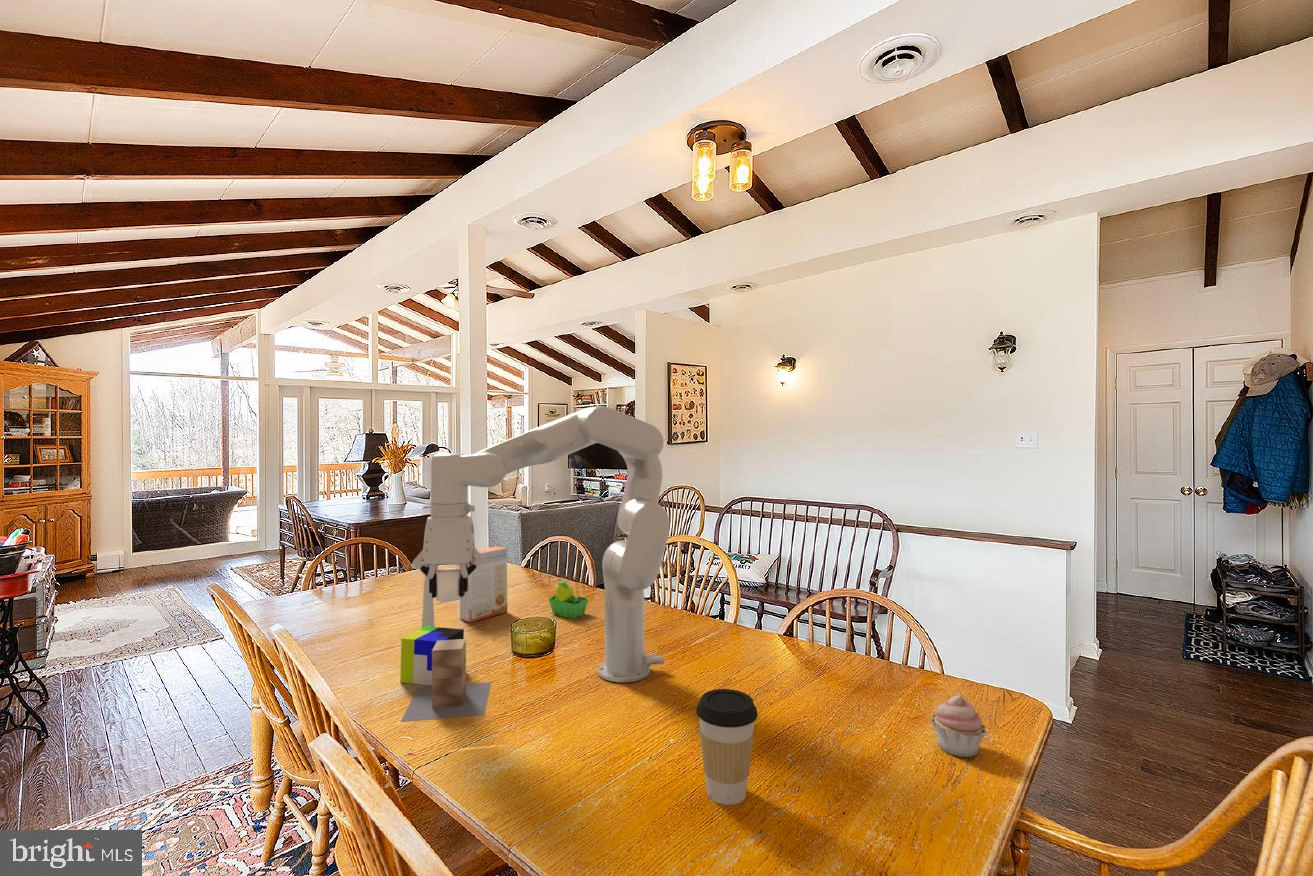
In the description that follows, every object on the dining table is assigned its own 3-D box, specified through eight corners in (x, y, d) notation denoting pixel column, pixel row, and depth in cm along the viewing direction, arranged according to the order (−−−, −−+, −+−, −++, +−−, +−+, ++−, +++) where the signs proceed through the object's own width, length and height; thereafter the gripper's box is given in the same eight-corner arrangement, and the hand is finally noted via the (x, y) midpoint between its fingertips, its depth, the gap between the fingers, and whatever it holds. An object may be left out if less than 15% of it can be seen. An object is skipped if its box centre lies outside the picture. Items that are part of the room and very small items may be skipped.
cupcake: (957, 767, 102) (957, 710, 102) (919, 740, 111) (919, 687, 111) (999, 759, 105) (1000, 703, 104) (959, 733, 114) (959, 682, 113)
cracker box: (497, 609, 192) (497, 545, 192) (508, 612, 188) (508, 547, 188) (458, 619, 181) (458, 552, 181) (469, 623, 177) (469, 554, 177)
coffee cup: (750, 774, 99) (751, 686, 99) (763, 812, 90) (763, 714, 89) (693, 775, 99) (693, 687, 99) (699, 813, 89) (699, 715, 89)
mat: (491, 683, 135) (491, 682, 135) (484, 716, 119) (484, 714, 119) (418, 689, 132) (418, 687, 132) (400, 723, 116) (400, 721, 116)
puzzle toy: (439, 686, 132) (440, 641, 133) (400, 682, 134) (401, 638, 135) (462, 670, 142) (463, 629, 142) (425, 667, 144) (426, 626, 145)
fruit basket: (590, 614, 187) (590, 578, 187) (572, 621, 180) (572, 584, 180) (563, 608, 193) (563, 574, 193) (544, 615, 186) (544, 579, 186)
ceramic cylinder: (462, 594, 128) (462, 567, 128) (459, 601, 123) (459, 572, 123) (438, 595, 127) (438, 568, 127) (434, 602, 122) (434, 573, 122)
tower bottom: (465, 693, 129) (465, 666, 129) (461, 705, 123) (461, 677, 123) (437, 695, 128) (437, 668, 128) (431, 708, 122) (432, 679, 122)
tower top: (465, 666, 129) (465, 639, 129) (461, 677, 123) (462, 648, 123) (437, 668, 128) (437, 640, 128) (432, 679, 122) (431, 650, 122)
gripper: (492, 508, 131) (491, 589, 131) (411, 509, 127) (410, 592, 127) (488, 512, 123) (488, 599, 123) (402, 513, 120) (402, 602, 120)
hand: (448, 594), depth 125 cm, fingers closed on ceramic cylinder, 5 cm apart
